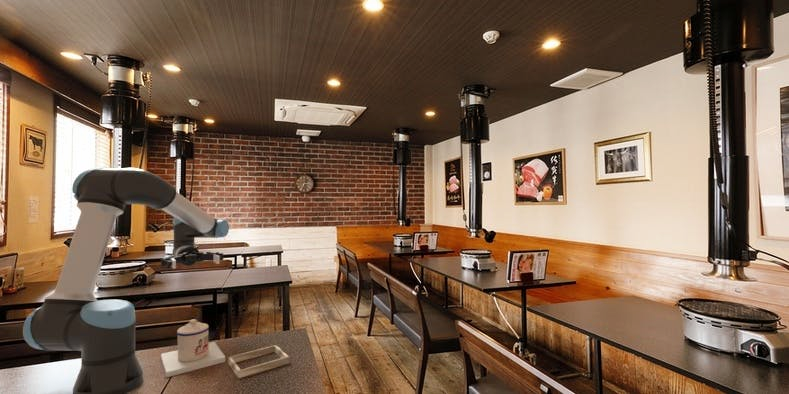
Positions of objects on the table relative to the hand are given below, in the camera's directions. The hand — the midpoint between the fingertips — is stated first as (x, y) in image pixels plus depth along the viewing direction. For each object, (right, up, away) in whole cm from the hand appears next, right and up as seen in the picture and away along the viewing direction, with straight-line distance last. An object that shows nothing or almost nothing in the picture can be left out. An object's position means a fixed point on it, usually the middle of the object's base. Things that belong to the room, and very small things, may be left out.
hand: (197, 262), depth 125 cm
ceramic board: (+4, -30, -10) cm, 32 cm away
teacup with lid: (+4, -29, -9) cm, 30 cm away
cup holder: (+26, -30, -12) cm, 42 cm away
